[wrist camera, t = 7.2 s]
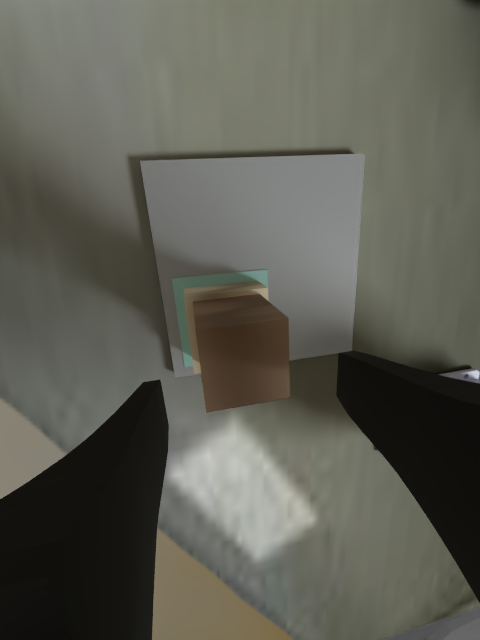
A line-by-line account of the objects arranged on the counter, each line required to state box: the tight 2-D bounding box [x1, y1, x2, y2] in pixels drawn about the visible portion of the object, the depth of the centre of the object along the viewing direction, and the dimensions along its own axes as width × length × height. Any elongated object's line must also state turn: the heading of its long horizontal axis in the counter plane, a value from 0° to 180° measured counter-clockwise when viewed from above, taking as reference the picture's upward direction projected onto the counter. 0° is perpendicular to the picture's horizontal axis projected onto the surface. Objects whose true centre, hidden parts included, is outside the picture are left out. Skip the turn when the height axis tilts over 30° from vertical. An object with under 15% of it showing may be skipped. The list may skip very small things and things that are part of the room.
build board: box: [140, 154, 365, 378], centre depth 19 cm, size 14×14×1 cm
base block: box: [184, 281, 269, 374], centre depth 18 cm, size 5×5×2 cm
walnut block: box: [193, 294, 290, 412], centre depth 15 cm, size 4×4×5 cm
